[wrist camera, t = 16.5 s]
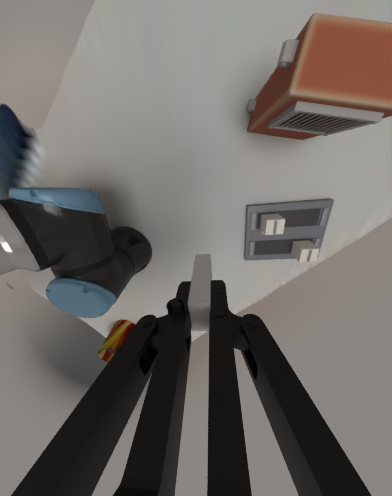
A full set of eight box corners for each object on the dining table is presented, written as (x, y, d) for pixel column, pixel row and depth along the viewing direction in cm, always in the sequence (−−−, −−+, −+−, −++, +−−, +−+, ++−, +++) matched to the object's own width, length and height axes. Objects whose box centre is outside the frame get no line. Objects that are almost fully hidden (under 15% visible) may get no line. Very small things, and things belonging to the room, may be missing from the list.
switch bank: (244, 257, 49) (245, 261, 48) (246, 205, 42) (248, 206, 40) (314, 254, 47) (318, 258, 45) (329, 198, 40) (335, 200, 38)
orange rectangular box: (248, 94, 32) (323, 104, 32) (239, 136, 36) (307, 145, 35) (302, -5, 13) (484, 18, 13) (272, 103, 17) (419, 124, 16)
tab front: (259, 227, 43) (265, 235, 38) (261, 214, 41) (267, 220, 37) (275, 227, 42) (283, 234, 38) (277, 213, 41) (285, 219, 36)
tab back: (290, 252, 45) (299, 262, 41) (293, 241, 44) (302, 249, 39) (306, 252, 45) (316, 261, 40) (308, 240, 43) (320, 249, 39)
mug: (146, 322, 67) (134, 352, 57) (130, 337, 73) (117, 366, 62) (125, 311, 65) (109, 339, 54) (111, 327, 71) (94, 356, 60)
